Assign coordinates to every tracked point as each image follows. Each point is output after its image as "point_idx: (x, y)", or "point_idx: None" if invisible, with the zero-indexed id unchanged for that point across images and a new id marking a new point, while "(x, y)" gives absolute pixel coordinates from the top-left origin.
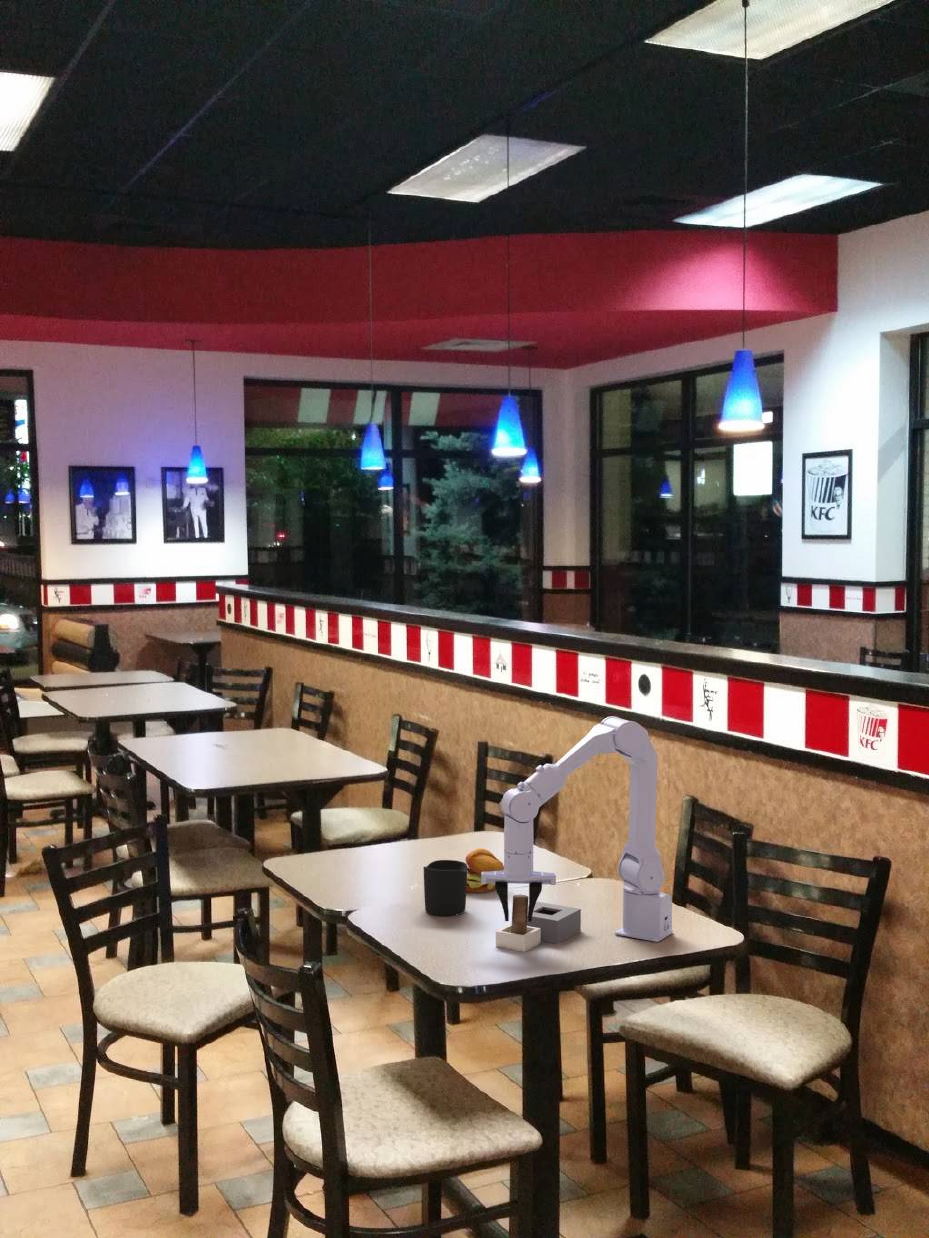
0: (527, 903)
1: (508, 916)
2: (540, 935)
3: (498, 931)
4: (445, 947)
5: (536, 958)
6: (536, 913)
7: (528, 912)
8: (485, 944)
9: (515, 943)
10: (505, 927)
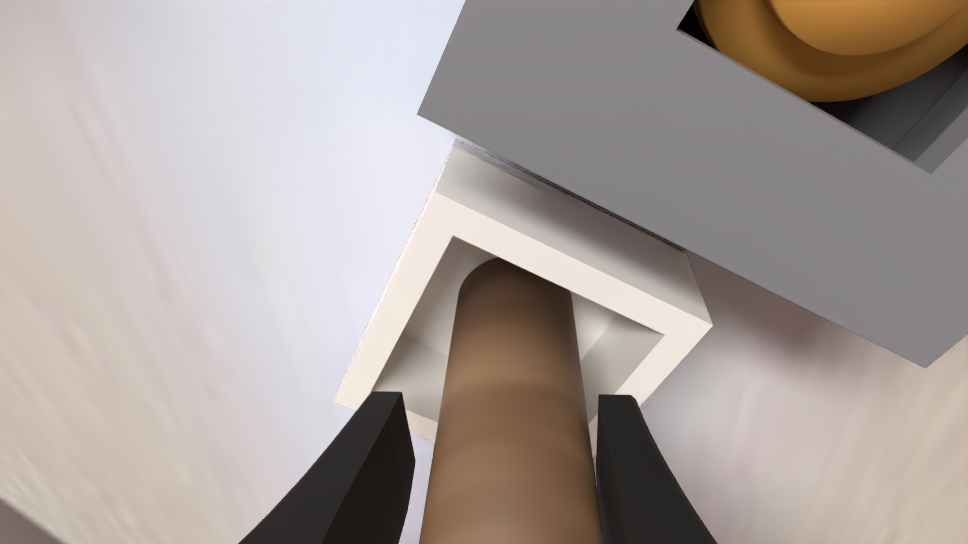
0: None
1: (406, 511)
2: (698, 290)
3: (355, 407)
4: (76, 354)
5: None
6: (728, 108)
7: (605, 540)
8: (289, 292)
9: None
10: (390, 317)
